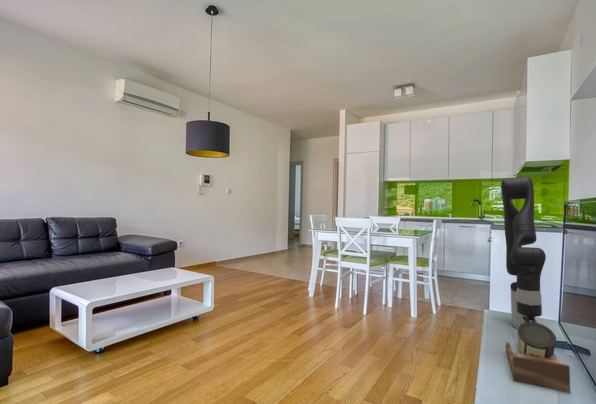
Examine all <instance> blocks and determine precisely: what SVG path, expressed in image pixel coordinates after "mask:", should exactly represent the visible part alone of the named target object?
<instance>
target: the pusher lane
mask: <svg viewBox="0 0 596 404" xmlns="http://www.w3.org/2000/svg"><path fill="white" fill-rule="evenodd" d="M505 354H506V357H507V361H508V365H509V368H510V372H511V375H512V380H513V382H516V383H520V384H521V383H522V384H526V385H531V386H535V387H541V388H546V389H550V390H554V391H555V390H556V391H560V392H564V393H565V392H566V393H571V380H570V379H571V373H570V371H571V370H570V365H569V364H565V363H561V364H560V363H554V362H549V361H543V360H537V359H531V358H526V357H520V356H516V355H514V354H513V349H512V347H511V344H510V341H505ZM553 359H556V360H559V359H558V357H557V356H556V354H555V353H554V354H553Z"/></svg>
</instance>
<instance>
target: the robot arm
mask: <svg viewBox="0 0 596 404" xmlns="http://www.w3.org/2000/svg"><path fill="white" fill-rule="evenodd" d="M500 191H501V199H502V204H503V205H502V206H503V216H504V217H503V219H504V221H503V223H504V224H503V225H504V226H503V227H504V237H505V245H506V247H505V248H506V249H505V250H506V251H505V252H506V255H505V260H506V262H505V265H506V266H505V267H506V271H507V272H506V273H507V274H509V276H516V281H514V282H511V283H510V307H511V308H510V310H511V311H510V312H511V317H510V318H511V326H512V327H514V328H516V329H518V327H519V326H520V325H521V324H522V323H525V322H535V323H538V322H537V320H536V317H541V316H542V314H543V308H542V306H543V305H542V304H543V303H542V294H541V275H542V273H543V268H544V266H545V263H546V258H547V257H546V252H545V251H544V250H543V249H542V248H540V247H528V245H533V244H535V243H536V242H537V232H536V225H535V188H534V182H533V179H532V178H531V177H529V176H517V177H509V178H508V177H506V178H504V179H502V180H501V183H500ZM512 200H524V203H523V205H522V207H520V210H519V209H518V208H517V207H516V206H515V204H514V203H513V201H512ZM525 246H527V247H525Z"/></svg>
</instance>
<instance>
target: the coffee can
mask: <svg viewBox="0 0 596 404" xmlns="http://www.w3.org/2000/svg"><path fill="white" fill-rule="evenodd" d="M556 343H557V337H556V335H555V333H554V332H553V330H551V329H550V328H549V327H548V326H545V325H544V324H541V323H539V322H537V323H535V322H525V323H522V324H521V325H520V326H519V327H518V328H517V341H516V353H515V356H518V353H521V354H527V355H533V356H537V357H544V358H550V359H553V354H555V346H556Z"/></svg>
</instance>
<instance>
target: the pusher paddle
mask: <svg viewBox="0 0 596 404" xmlns="http://www.w3.org/2000/svg"><path fill="white" fill-rule="evenodd" d="M518 356H520V357H526V358H531V359H537V360H543V361H549V362H554V363H560V364H562V363H561V360H559V359H558V360H556V359H550V358H544V357H537V356H533V355H527V354H521V353H518Z"/></svg>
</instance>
